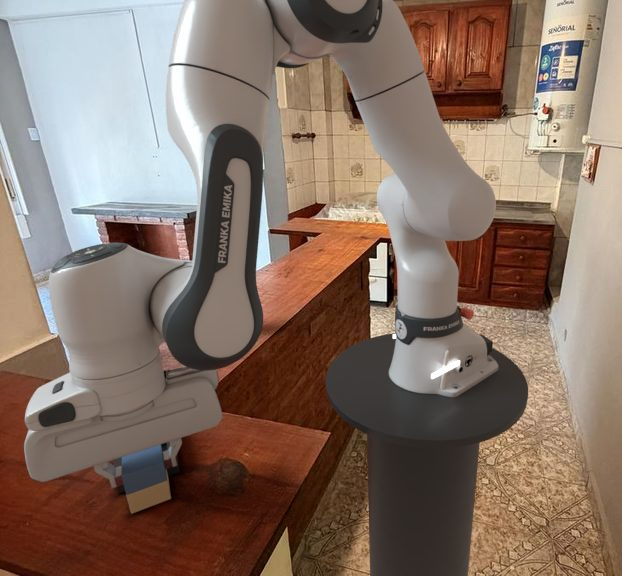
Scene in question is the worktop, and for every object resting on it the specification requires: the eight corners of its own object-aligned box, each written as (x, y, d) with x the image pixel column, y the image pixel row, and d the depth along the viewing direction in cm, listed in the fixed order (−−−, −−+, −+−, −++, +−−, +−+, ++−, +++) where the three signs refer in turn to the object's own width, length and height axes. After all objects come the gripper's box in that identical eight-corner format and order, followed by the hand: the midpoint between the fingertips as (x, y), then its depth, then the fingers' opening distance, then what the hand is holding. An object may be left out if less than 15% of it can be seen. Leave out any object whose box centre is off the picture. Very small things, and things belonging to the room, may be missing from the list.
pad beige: (168, 478, 55) (164, 461, 55) (171, 498, 52) (167, 480, 51) (131, 492, 53) (126, 474, 52) (131, 514, 50) (126, 495, 49)
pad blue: (165, 461, 55) (160, 443, 54) (167, 480, 51) (163, 462, 50) (126, 474, 52) (121, 456, 51) (126, 495, 49) (121, 476, 48)
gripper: (211, 349, 55) (224, 432, 59) (17, 394, 45) (51, 489, 49) (219, 369, 50) (233, 458, 54) (3, 424, 40) (42, 528, 44)
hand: (145, 473), depth 52 cm, fingers closed on pad blue, 4 cm apart
